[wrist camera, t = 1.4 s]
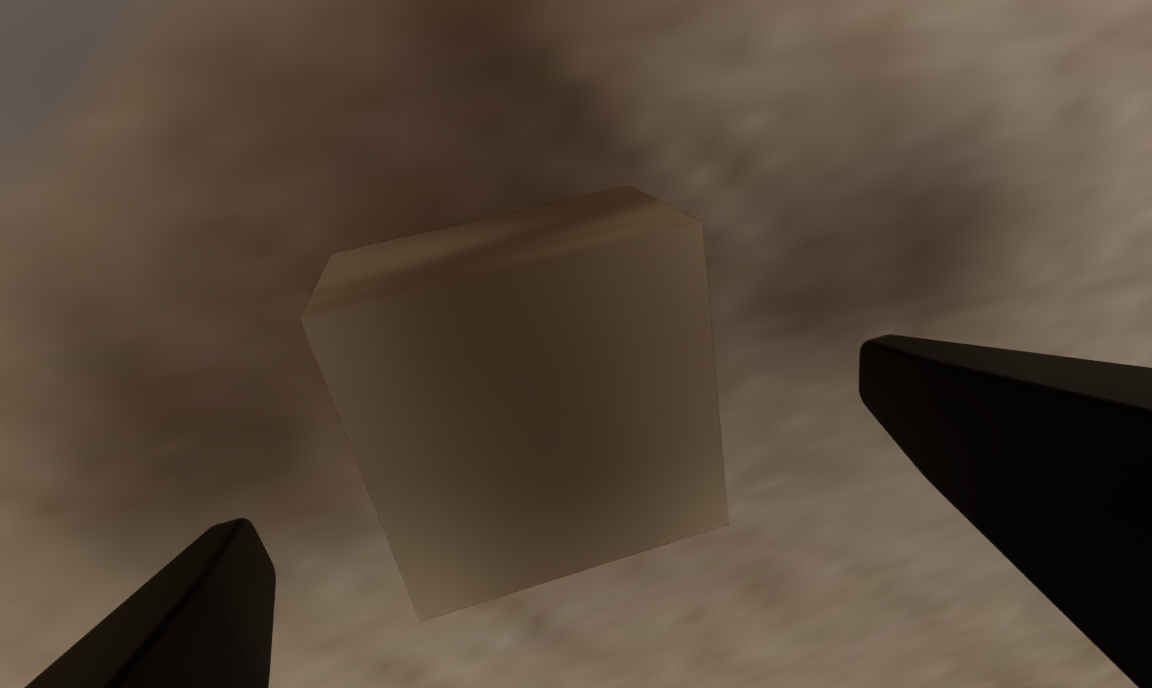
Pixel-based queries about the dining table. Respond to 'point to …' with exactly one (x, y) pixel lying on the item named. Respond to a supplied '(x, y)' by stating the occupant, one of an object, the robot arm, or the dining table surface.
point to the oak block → (527, 391)
